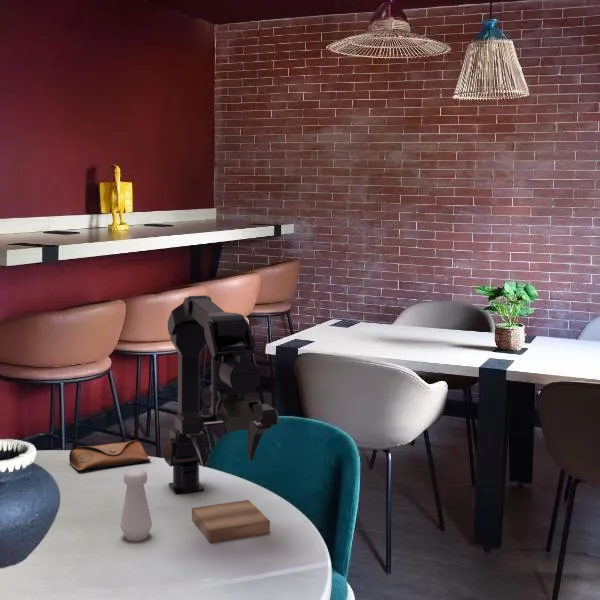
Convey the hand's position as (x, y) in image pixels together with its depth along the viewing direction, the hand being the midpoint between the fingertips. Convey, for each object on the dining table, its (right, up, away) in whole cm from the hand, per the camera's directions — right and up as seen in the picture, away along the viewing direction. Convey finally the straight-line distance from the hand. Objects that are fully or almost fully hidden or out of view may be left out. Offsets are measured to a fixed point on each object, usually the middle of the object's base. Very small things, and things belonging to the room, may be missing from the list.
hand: (227, 463), depth 159 cm
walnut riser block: (0, -14, +7) cm, 16 cm away
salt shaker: (-17, -15, +1) cm, 23 cm away
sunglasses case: (-30, -10, +41) cm, 52 cm away
